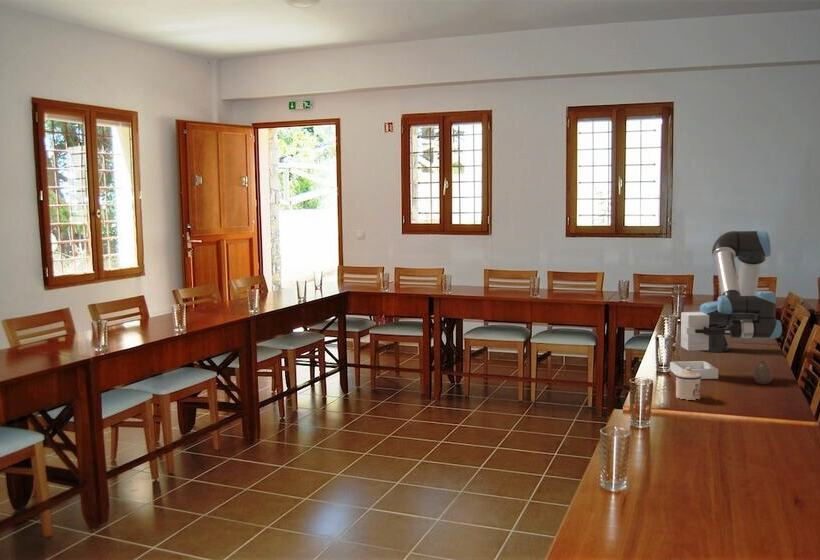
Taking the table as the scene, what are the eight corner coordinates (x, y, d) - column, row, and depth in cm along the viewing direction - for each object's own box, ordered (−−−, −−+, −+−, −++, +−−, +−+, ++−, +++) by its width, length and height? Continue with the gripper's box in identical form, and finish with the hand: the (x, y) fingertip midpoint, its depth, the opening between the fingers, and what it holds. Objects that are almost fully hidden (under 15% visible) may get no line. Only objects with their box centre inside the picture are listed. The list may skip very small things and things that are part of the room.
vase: (768, 380, 302) (769, 359, 301) (775, 385, 295) (775, 363, 294) (750, 380, 302) (751, 359, 301) (757, 385, 295) (757, 363, 294)
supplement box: (709, 350, 309) (710, 314, 307) (687, 350, 309) (688, 315, 307) (701, 345, 318) (701, 311, 316) (680, 346, 318) (680, 311, 316)
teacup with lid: (697, 402, 274) (698, 371, 273) (672, 399, 279) (672, 368, 278) (705, 394, 284) (705, 364, 282) (680, 391, 289) (680, 362, 287)
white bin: (669, 370, 322) (669, 361, 322) (704, 370, 322) (704, 361, 322) (681, 379, 307) (681, 369, 307) (718, 378, 307) (718, 369, 307)
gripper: (747, 343, 299) (688, 342, 303) (733, 332, 321) (679, 332, 325) (747, 324, 298) (689, 324, 302) (733, 315, 320) (679, 315, 324)
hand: (684, 328), depth 313 cm, fingers closed on supplement box, 10 cm apart
